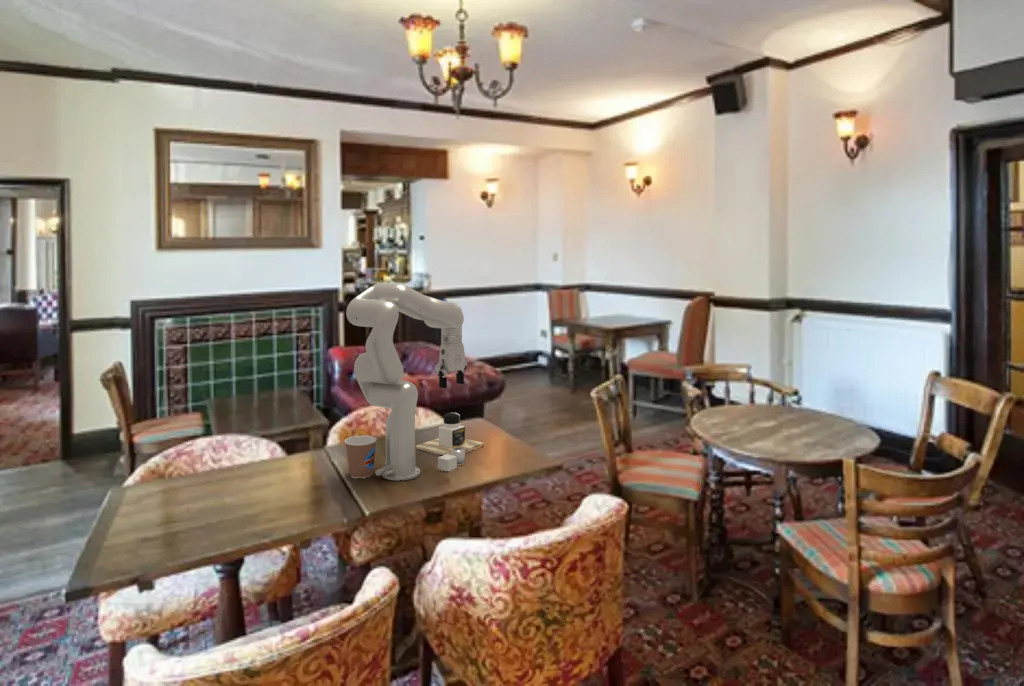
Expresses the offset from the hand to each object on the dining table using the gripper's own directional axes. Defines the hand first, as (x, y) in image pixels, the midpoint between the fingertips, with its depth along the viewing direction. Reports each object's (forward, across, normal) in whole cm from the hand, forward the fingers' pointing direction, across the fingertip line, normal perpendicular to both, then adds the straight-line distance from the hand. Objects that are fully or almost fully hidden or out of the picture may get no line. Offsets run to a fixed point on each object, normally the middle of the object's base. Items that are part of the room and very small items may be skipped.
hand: (451, 385), depth 236 cm
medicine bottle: (+23, 0, 0) cm, 23 cm away
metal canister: (+24, -12, -13) cm, 30 cm away
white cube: (+24, -19, -14) cm, 34 cm away
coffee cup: (+24, -40, +5) cm, 47 cm away
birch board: (+24, 0, +1) cm, 24 cm away
